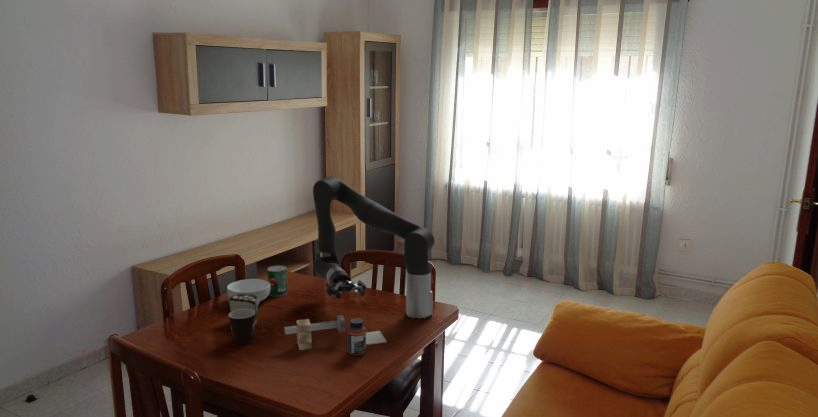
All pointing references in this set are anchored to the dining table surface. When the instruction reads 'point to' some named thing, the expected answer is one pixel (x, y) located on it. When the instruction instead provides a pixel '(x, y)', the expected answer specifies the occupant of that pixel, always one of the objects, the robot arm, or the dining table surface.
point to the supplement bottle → (356, 337)
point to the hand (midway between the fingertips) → (351, 295)
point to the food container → (244, 302)
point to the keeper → (304, 334)
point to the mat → (374, 338)
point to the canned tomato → (277, 280)
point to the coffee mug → (242, 326)
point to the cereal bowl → (250, 288)
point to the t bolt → (321, 326)
